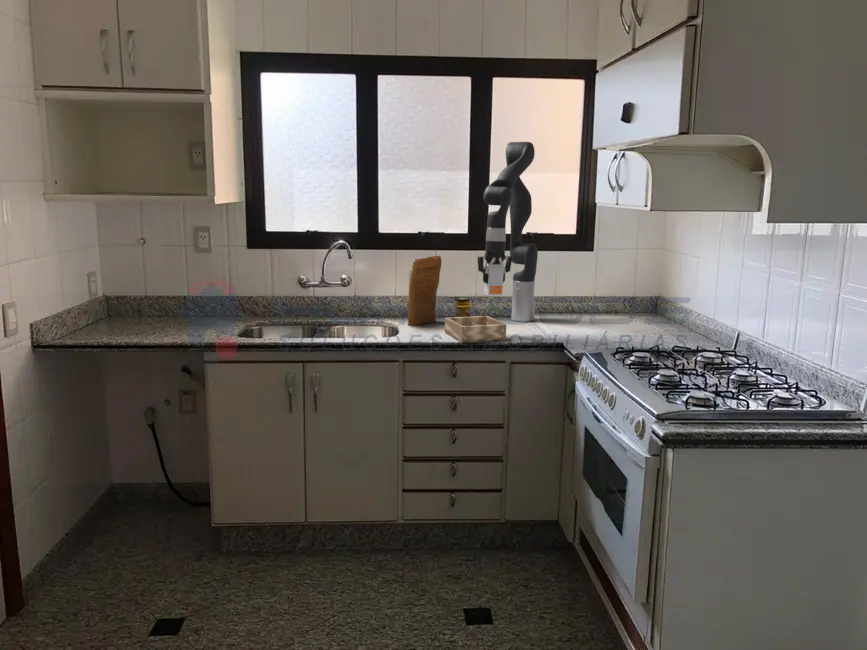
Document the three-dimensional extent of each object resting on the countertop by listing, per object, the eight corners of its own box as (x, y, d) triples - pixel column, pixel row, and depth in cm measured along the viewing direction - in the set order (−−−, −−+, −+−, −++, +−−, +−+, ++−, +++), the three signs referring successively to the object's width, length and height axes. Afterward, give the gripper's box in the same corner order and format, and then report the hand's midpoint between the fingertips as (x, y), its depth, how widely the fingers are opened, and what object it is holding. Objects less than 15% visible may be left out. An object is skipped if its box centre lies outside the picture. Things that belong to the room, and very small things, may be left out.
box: (486, 330, 291) (487, 315, 290) (505, 340, 274) (506, 324, 273) (444, 332, 285) (445, 317, 284) (461, 342, 268) (462, 326, 267)
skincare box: (488, 295, 279) (489, 264, 276) (484, 294, 283) (485, 263, 280) (502, 295, 280) (504, 264, 278) (498, 293, 284) (500, 263, 282)
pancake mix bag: (445, 321, 307) (446, 255, 302) (412, 327, 294) (413, 258, 288) (434, 319, 312) (435, 254, 306) (401, 325, 298) (402, 257, 293)
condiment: (473, 328, 295) (474, 299, 293) (455, 329, 292) (455, 300, 289) (464, 324, 302) (465, 296, 299) (446, 326, 298) (447, 297, 296)
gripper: (508, 239, 283) (506, 281, 287) (474, 238, 278) (472, 282, 282) (517, 240, 277) (514, 284, 280) (482, 240, 272) (480, 284, 275)
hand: (493, 282), depth 281 cm, fingers closed on skincare box, 6 cm apart
